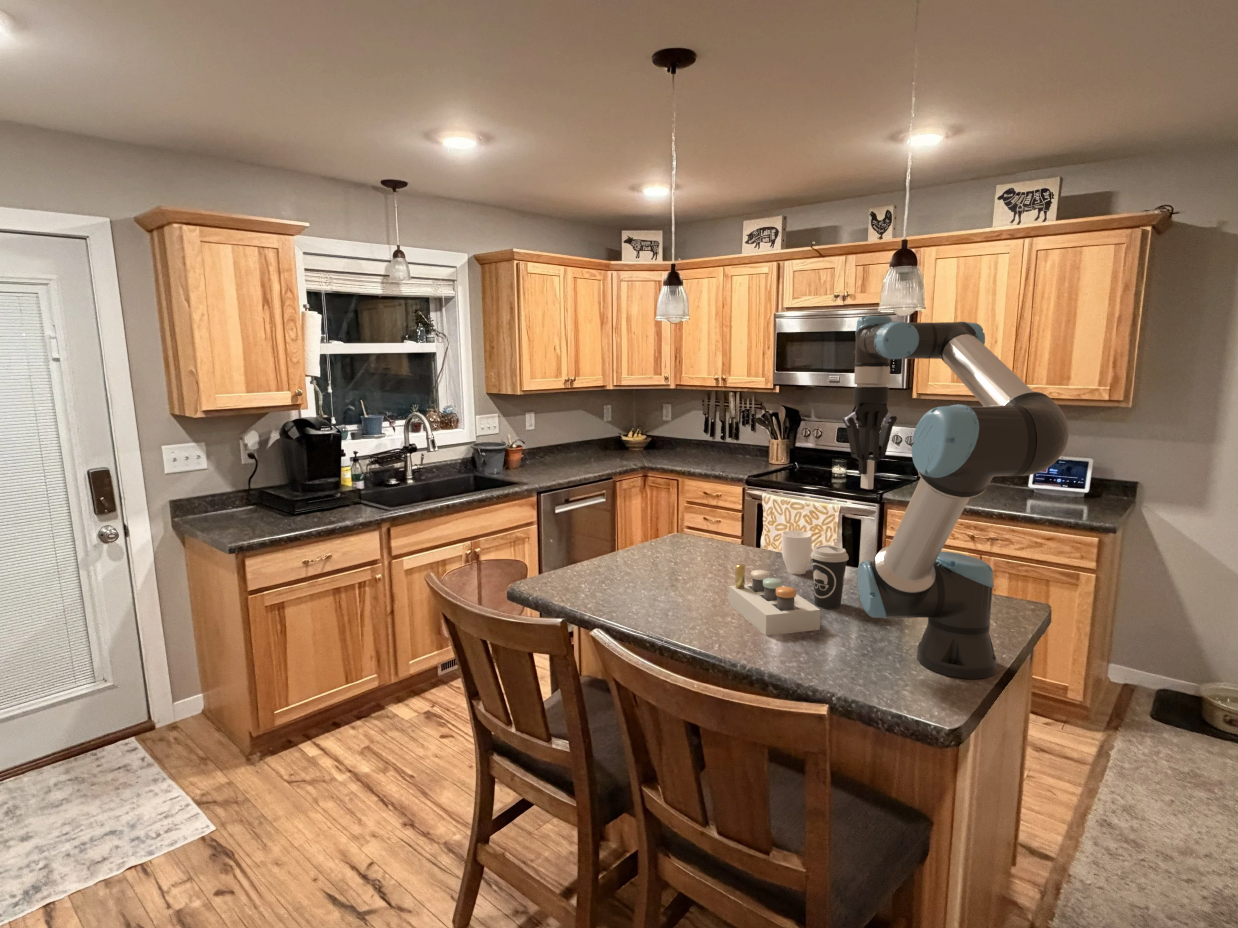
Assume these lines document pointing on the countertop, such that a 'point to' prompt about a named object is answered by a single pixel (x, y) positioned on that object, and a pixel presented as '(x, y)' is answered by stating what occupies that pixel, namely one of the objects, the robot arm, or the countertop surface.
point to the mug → (796, 550)
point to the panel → (774, 612)
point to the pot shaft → (740, 576)
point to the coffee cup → (828, 575)
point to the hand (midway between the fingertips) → (866, 488)
